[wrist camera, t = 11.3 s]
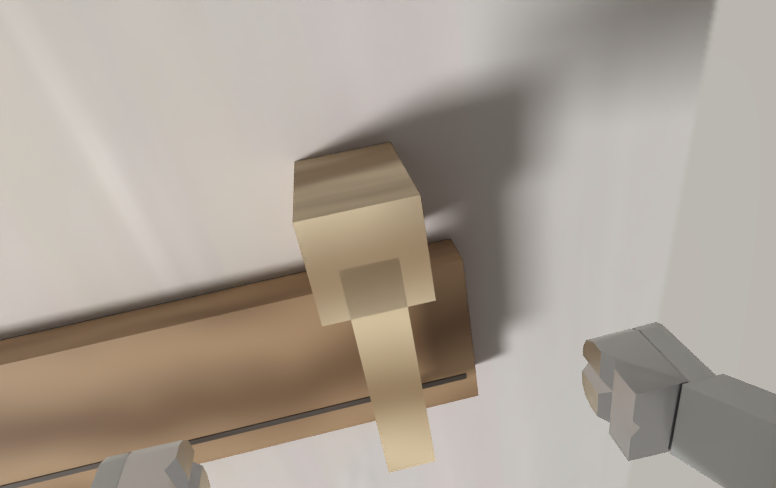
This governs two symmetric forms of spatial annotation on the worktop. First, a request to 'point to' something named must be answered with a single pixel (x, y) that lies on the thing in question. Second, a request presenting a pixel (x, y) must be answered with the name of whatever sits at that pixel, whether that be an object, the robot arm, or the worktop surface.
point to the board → (210, 376)
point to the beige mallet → (371, 279)
